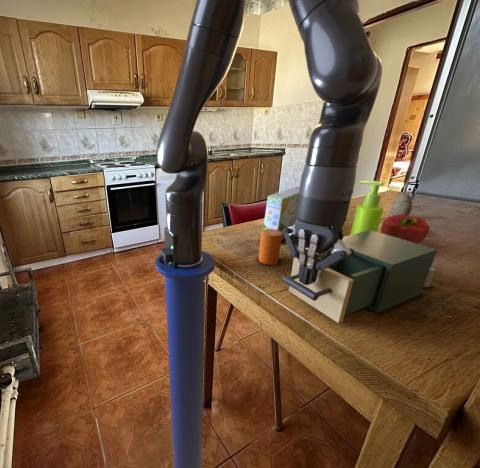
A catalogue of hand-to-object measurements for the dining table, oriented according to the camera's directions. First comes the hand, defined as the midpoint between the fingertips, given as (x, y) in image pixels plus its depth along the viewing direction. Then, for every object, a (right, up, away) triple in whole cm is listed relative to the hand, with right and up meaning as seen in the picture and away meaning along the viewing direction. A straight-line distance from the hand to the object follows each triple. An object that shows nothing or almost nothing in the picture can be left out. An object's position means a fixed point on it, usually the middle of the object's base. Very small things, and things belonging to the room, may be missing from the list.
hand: (306, 282), depth 48 cm
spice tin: (+2, +2, +23) cm, 23 cm away
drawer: (+6, -4, +4) cm, 9 cm away
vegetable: (+44, +5, +29) cm, 52 cm away
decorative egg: (+64, +15, +51) cm, 83 cm away
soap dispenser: (+30, +4, +28) cm, 41 cm away
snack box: (+14, +9, +41) cm, 44 cm away
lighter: (+32, -2, +12) cm, 34 cm away
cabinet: (+19, -3, +9) cm, 21 cm away
